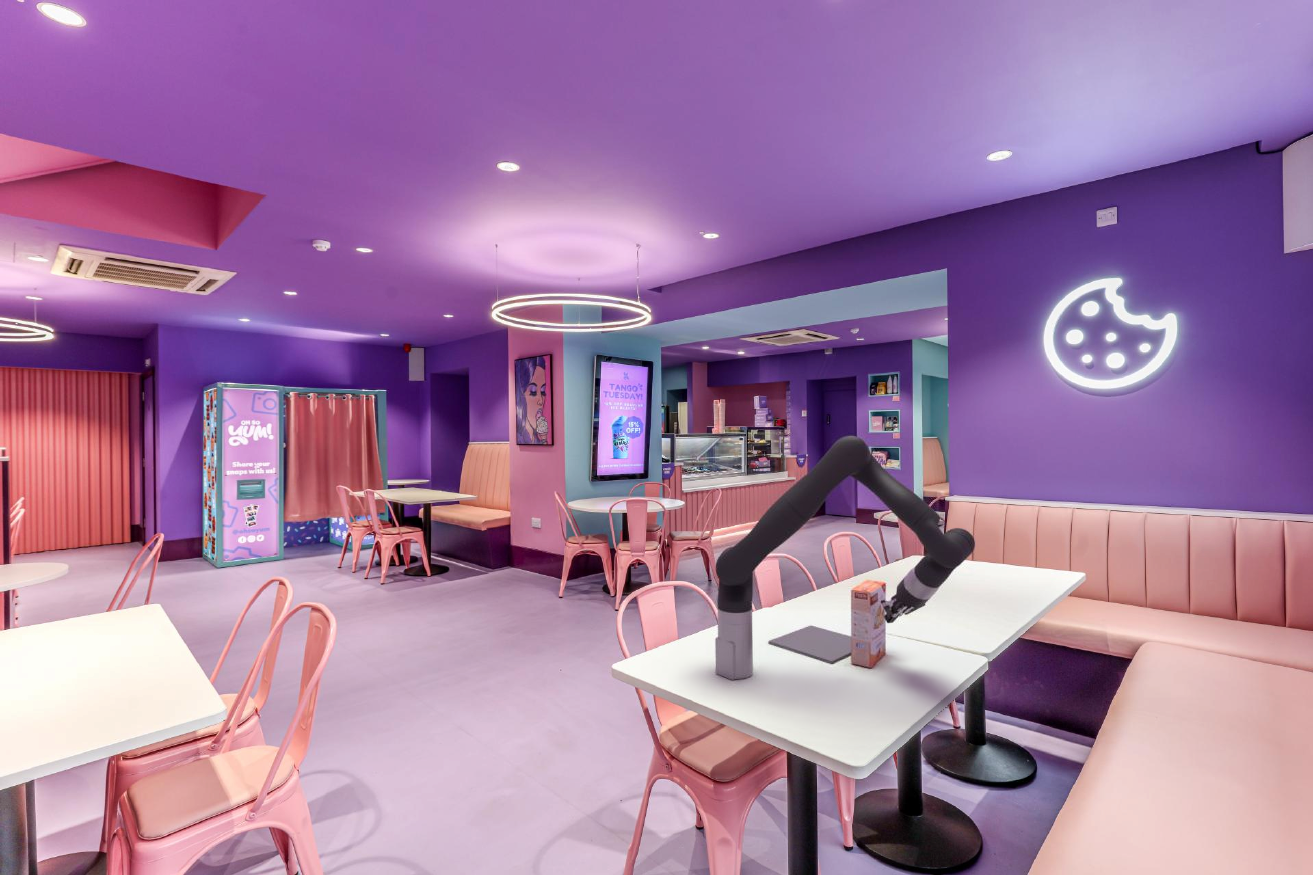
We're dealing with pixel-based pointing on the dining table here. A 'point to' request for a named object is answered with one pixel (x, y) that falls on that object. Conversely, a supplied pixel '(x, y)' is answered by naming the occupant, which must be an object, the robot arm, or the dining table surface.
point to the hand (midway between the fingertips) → (887, 619)
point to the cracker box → (868, 623)
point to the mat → (816, 643)
